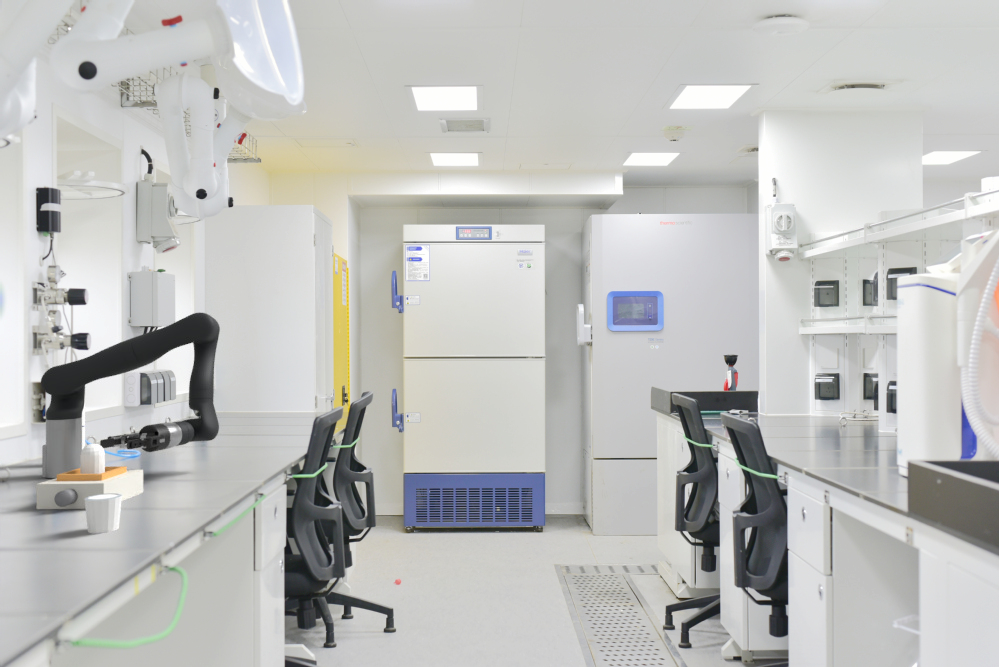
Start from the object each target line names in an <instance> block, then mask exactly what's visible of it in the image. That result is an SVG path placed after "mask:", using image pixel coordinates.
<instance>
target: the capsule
mask: <svg viewBox="0 0 999 667" xmlns="http://www.w3.org/2000/svg"><path fill="white" fill-rule="evenodd" d="M105 452H106V451H105V448H103V447H102V446H100V444H98V443H89V444H87V445H85V447H84V448H83V450H82V451H81V455H80V474H101V473H104V472H105V467H106V453H105Z"/></svg>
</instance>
